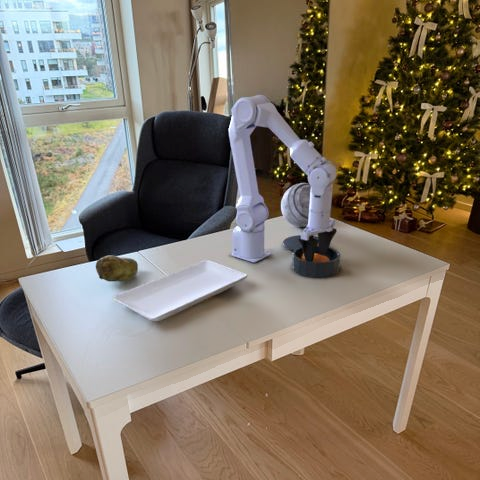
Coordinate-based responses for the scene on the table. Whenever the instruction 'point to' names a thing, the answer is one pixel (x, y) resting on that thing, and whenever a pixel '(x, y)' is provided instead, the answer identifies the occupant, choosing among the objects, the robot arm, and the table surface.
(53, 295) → the table surface
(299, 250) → the pan
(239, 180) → the robot arm
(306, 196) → the decorative orb
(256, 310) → the table surface
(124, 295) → the tray
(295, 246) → the lid
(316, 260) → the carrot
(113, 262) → the potato
